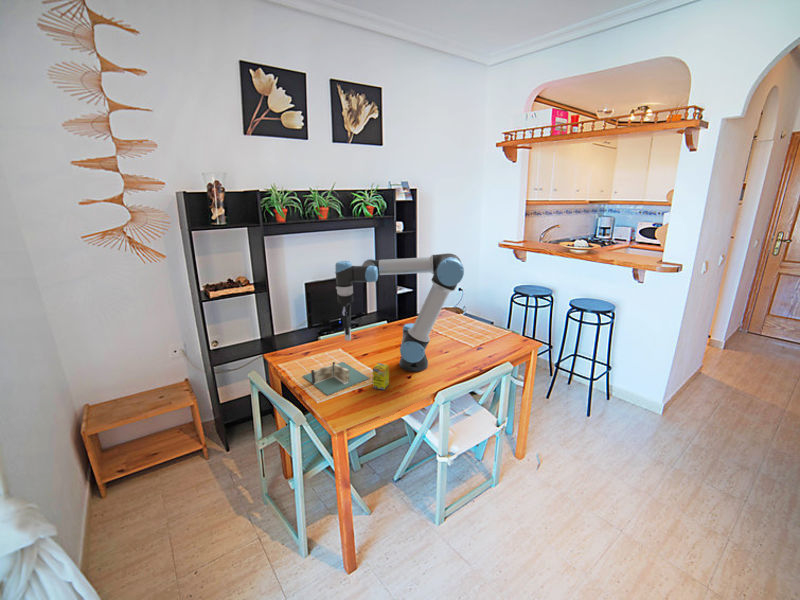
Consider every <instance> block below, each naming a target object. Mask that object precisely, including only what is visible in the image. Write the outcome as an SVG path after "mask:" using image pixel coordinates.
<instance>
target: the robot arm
mask: <svg viewBox="0 0 800 600" xmlns="http://www.w3.org/2000/svg"><path fill="white" fill-rule="evenodd" d="M464 268H465V267H464V265H463V263H462V261H461V259H460V258H459V256H457V255H456V254H454V253H450V252H449V253H448V252H447V253H440V254H431V255H430V257H429V256H427V257H410V258H406V257H405V258H393V259H389V258H387V259H373V258H370V259H366V260H365V261H363V263H362V265H352V262H351V261H350V260H340V261H337V262H336V263H335V272H334V273H335V281H336V286H335V289H336V293H337V296H336V297H337V303H338V304H340V305H341V306H340V308H341V311H340V314H341V315H340V316H341V321H342V329H344V341H349V342H350V341H351V340H352V333H351V332H352V331H351V330H352V329H351V328H352V326H353V325H352V304H351V303H353V302H354V286H353V283H376V282H377V281H378V277H379V276H385V275H386V276H387V275H389V276H390V275H408V274H427V273H429V274H431V275H432V277H431V283H432V285H431V287H430V290H429V292H428V293H427V296H426V298H425V300H424V303H423V304H422V306H421V308H420V311H419V313H418V315H417V317H416V319H415V322H413V323H411V322H410V323H406V324H404V325H403V326H402V339H401V342H400V348H399V352H400V356H401V357H400V359H399V368H401V369H402V370H403V371H406V372H413V373H414V372H421V371H424V370H427V368H428V365H429V359H428V358H427V354H426V349H427V346H428V345H429V343H430V341H431V338H430V333H431V331H432V330H433V327H434V325H435V324H436V322H437V319H438V317H439V315H440V313H441V312H442V309H443V307H444V305H445V302H446V301H447V298H448V297H449V295H450V293H451V292H454V291H455V290H456V288H457V286H458V284H459V283H460V282H462V279H463V277H464V275H465V274H464V273H465V269H464Z"/></svg>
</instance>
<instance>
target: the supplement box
mask: <svg viewBox="0 0 800 600" xmlns="http://www.w3.org/2000/svg"><path fill="white" fill-rule="evenodd" d="M389 386H390V365H389V364H385V363H384V364H383V363H380V362H377V363H376V364H375V365H374V366H373V367H372V387H373V388H372V389H375V390H379V391H383V392H384V391H386V390H387V388H388V387H389Z"/></svg>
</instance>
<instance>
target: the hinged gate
mask: <svg viewBox="0 0 800 600" xmlns="http://www.w3.org/2000/svg"><path fill="white" fill-rule="evenodd" d="M332 365H333V375H334V376H336V377H338V378H340V379H342V380H344V381H346V382H348V381H350V379H349V370H348V369H346V368H344V367H342V366H340V365H338V363H336V361H333V362H332Z"/></svg>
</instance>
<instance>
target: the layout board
mask: <svg viewBox="0 0 800 600" xmlns="http://www.w3.org/2000/svg"><path fill="white" fill-rule="evenodd" d="M337 364H338V365H340V366H342V367H344V368H346V369H348V370H349V379H350V381H348V382H346V381H344V380H342V379H340V378H338V377H336V376H334V375H333V377H330V378H328V379H325V380H322V381H320V382H317V383H314V384H312V374H311V372H310V373H307V374H303V375H302V377H303V378H304V379H305V380H306V381H308V382H309V383H310V384H312V385H313V386H314V387H315V388H317V389H318V390H319V391H321V393H323V394H324V395H325V396H330V395H331V396H332V395H333V394H335V392H336V393H337V392H340V390H341V391H342V390H345V388H346V389H348V388H350V387H352V385H353V386H355V385H358V384H360V383H363V382H365V381H367V380H370V377H369V376H367V375H365V374H364V373H362V372H361V371H359V370H358V369H356V368H354V367H353V366H351V365H349V364H348V363H346V362H344V361H341V362H338V363H337ZM331 365H332V366H333V364H331ZM362 381H363V382H362ZM357 383H358V384H357ZM347 387H348V388H347Z"/></svg>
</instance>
